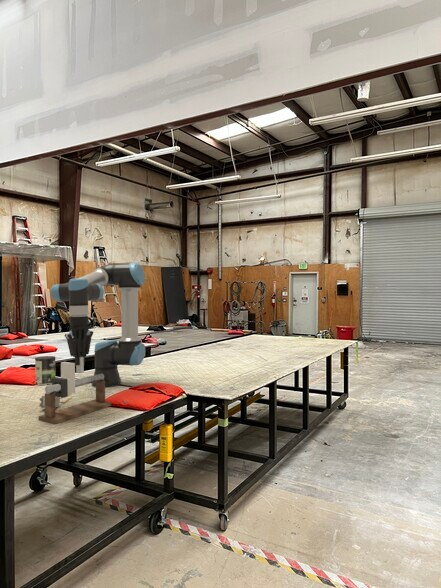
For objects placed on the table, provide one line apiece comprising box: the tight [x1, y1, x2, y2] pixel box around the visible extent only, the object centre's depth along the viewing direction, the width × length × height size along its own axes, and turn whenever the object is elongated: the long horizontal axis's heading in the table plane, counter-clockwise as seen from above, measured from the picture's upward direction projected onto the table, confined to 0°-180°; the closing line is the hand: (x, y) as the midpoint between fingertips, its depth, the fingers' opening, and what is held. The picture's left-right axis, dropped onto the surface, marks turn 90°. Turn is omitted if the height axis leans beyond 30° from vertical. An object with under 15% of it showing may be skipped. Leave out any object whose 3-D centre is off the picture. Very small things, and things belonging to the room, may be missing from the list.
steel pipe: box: [44, 374, 104, 394], centre depth 164 cm, size 27×3×3 cm, turn 149°
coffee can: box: [34, 355, 56, 386], centre depth 219 cm, size 10×10×14 cm
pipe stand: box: [38, 380, 112, 425], centre depth 164 cm, size 28×10×10 cm, turn 149°
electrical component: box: [38, 394, 74, 409], centre depth 178 cm, size 24×6×5 cm, turn 0°
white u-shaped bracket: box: [58, 361, 76, 396], centre depth 160 cm, size 4×6×12 cm, turn 59°
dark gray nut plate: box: [51, 376, 68, 399], centre depth 157 cm, size 2×7×7 cm, turn 59°
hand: (80, 372), depth 166 cm, fingers closed
